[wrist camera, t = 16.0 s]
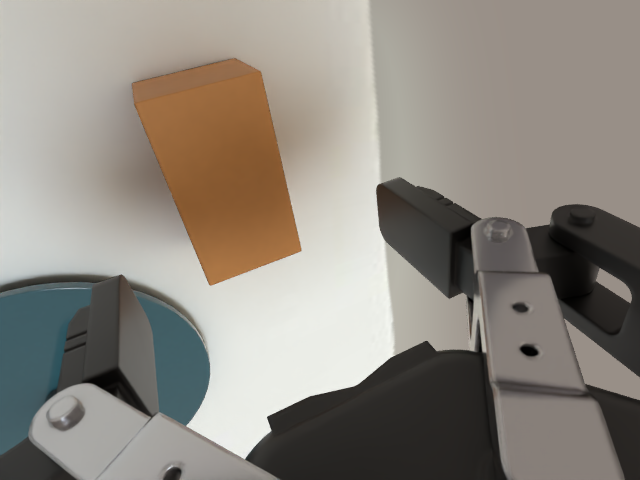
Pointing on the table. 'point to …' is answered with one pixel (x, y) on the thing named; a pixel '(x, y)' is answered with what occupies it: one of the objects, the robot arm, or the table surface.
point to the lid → (48, 348)
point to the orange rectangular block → (221, 164)
